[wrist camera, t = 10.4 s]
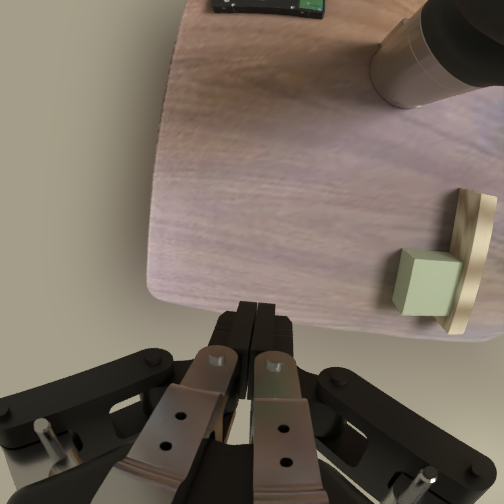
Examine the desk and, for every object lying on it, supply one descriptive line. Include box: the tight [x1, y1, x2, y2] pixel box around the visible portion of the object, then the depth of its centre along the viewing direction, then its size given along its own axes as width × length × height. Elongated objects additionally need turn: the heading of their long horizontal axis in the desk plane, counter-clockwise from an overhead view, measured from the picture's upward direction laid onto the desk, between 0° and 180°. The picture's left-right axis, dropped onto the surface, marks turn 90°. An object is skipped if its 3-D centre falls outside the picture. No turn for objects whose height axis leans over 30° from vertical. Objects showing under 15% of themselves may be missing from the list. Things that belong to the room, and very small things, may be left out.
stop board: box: [434, 188, 497, 334], centre depth 37 cm, size 20×3×6 cm, turn 177°
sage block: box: [392, 248, 463, 316], centre depth 39 cm, size 8×8×5 cm
